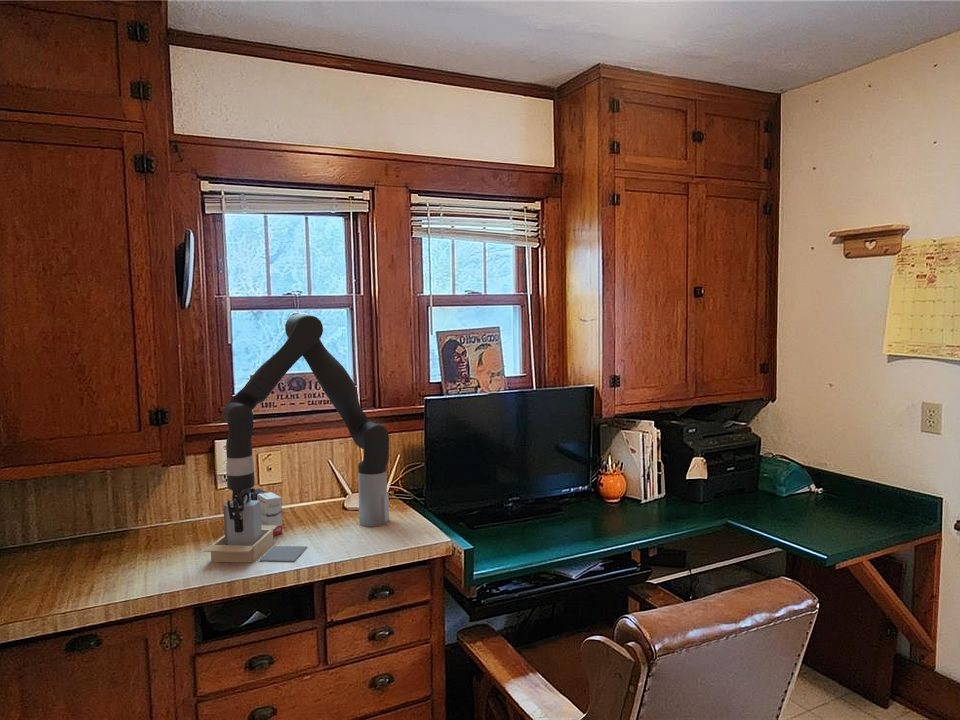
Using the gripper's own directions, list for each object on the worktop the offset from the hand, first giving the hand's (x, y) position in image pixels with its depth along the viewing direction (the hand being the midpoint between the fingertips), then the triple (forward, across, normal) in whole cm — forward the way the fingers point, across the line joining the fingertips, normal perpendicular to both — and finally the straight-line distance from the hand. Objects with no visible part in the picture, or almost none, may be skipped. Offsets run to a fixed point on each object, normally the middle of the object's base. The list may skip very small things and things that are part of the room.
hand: (243, 528), depth 191 cm
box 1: (+4, 0, 0) cm, 4 cm away
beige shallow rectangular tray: (+7, 0, 0) cm, 7 cm away
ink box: (+7, +18, -1) cm, 19 cm away
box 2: (+7, +26, +8) cm, 28 cm away
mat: (+7, -1, -12) cm, 14 cm away
